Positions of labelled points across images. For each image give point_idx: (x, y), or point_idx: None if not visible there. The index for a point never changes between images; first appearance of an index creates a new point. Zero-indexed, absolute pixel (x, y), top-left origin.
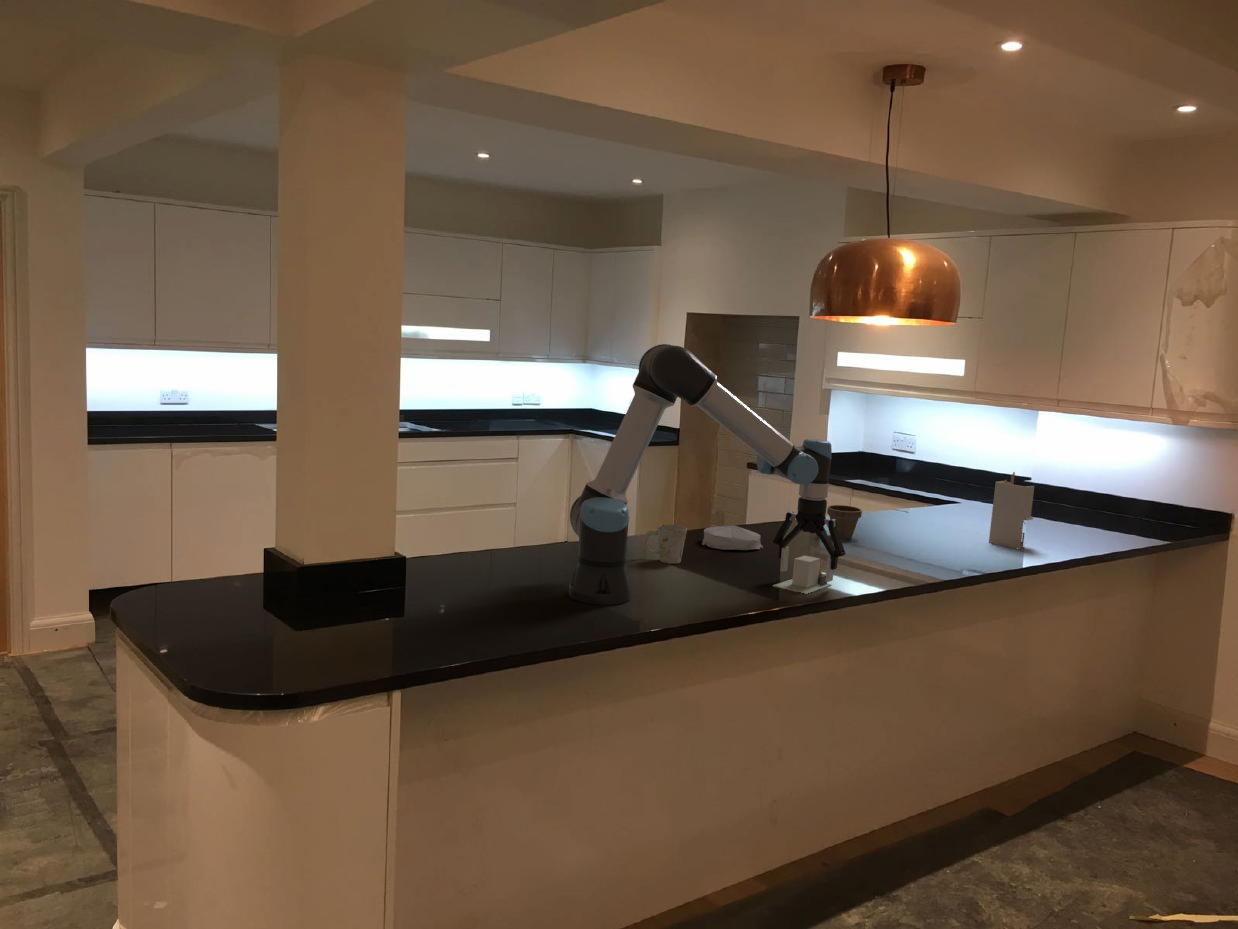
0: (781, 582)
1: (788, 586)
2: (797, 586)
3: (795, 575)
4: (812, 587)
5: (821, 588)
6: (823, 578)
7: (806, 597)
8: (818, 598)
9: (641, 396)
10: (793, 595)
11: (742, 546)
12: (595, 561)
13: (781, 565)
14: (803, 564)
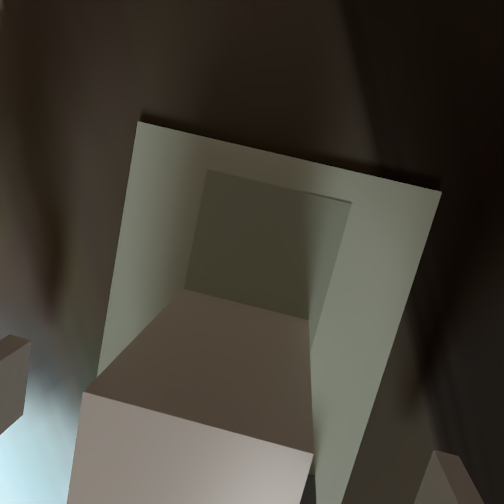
0: (397, 327)
1: (315, 234)
2: (254, 279)
3: (283, 345)
4: None
5: (102, 349)
6: None
7: (116, 35)
8: (38, 72)
9: None
10: (217, 23)
11: None
12: None
13: (470, 495)
14: (182, 386)
